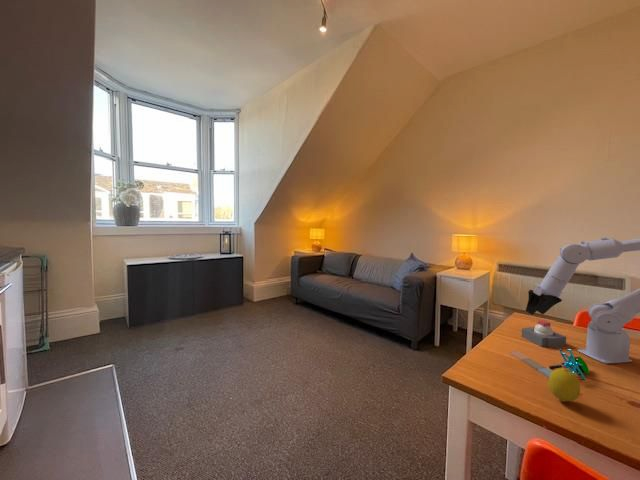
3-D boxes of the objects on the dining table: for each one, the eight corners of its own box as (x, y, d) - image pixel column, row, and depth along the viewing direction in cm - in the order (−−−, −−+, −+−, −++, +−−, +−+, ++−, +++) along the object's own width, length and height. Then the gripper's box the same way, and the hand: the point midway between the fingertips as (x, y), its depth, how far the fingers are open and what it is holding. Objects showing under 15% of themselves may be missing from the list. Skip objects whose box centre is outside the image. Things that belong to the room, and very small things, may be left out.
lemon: (541, 394, 68) (543, 362, 67) (562, 393, 68) (564, 361, 67) (562, 410, 62) (565, 376, 62) (585, 408, 63) (588, 374, 62)
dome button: (542, 334, 99) (544, 318, 99) (556, 340, 94) (557, 324, 94) (530, 335, 99) (531, 319, 98) (543, 341, 94) (544, 324, 93)
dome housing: (542, 334, 102) (543, 326, 101) (567, 346, 93) (567, 337, 92) (520, 335, 101) (520, 327, 100) (542, 347, 92) (543, 338, 91)
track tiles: (517, 352, 88) (517, 350, 88) (563, 379, 74) (563, 377, 74) (508, 353, 88) (509, 351, 88) (553, 380, 73) (553, 378, 73)
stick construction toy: (579, 378, 70) (563, 346, 75) (549, 382, 75) (535, 352, 80) (600, 380, 76) (584, 350, 80) (571, 383, 81) (557, 355, 85)
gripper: (553, 273, 97) (532, 305, 102) (533, 270, 90) (512, 305, 94) (576, 284, 92) (553, 317, 96) (557, 282, 85) (533, 318, 89)
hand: (534, 312), depth 95 cm, fingers open, 7 cm apart
